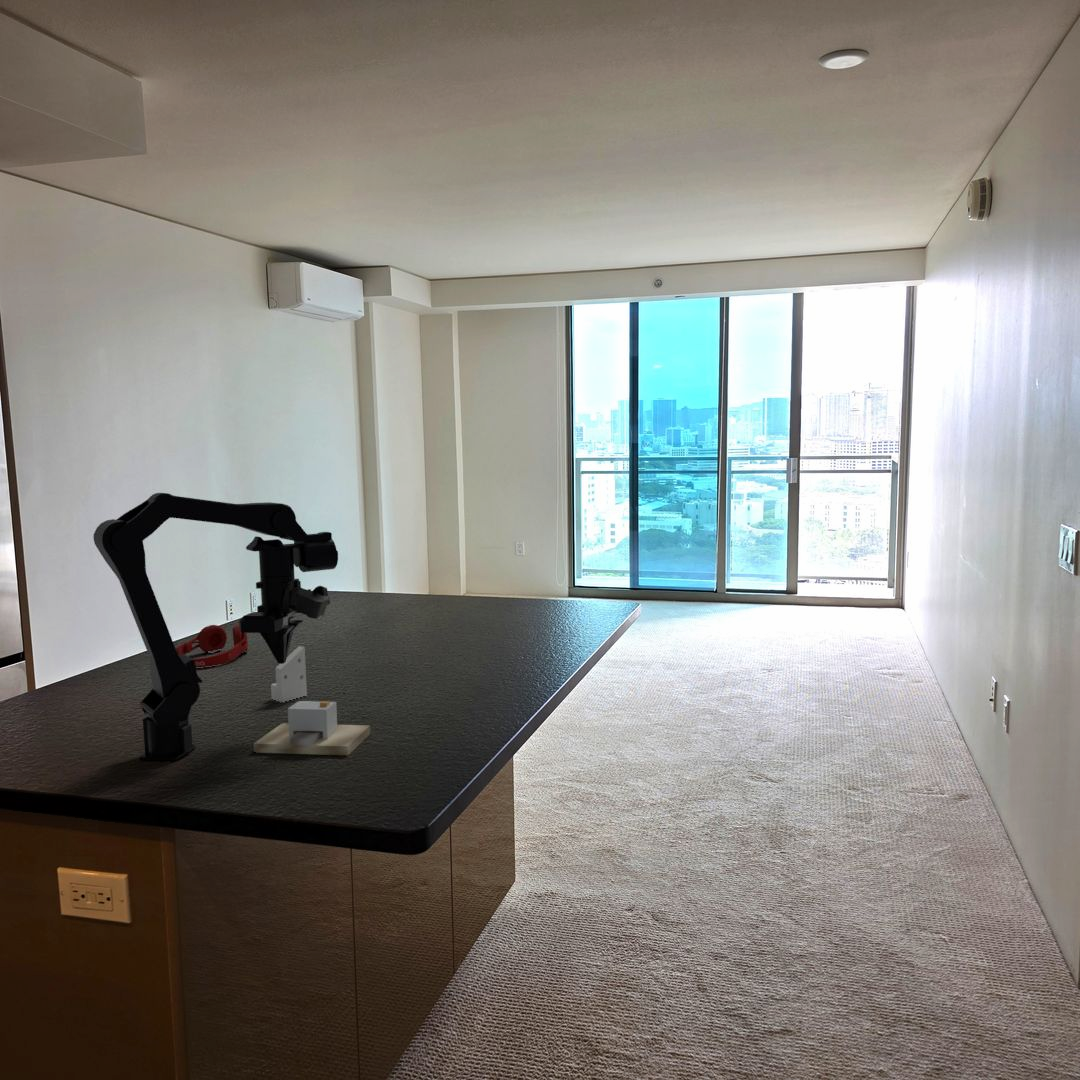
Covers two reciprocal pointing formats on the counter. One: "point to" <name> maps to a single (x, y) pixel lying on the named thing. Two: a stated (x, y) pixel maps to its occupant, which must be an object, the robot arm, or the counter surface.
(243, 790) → the counter surface
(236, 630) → the headphones
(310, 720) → the block
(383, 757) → the counter surface
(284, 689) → the white angled block
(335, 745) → the board
